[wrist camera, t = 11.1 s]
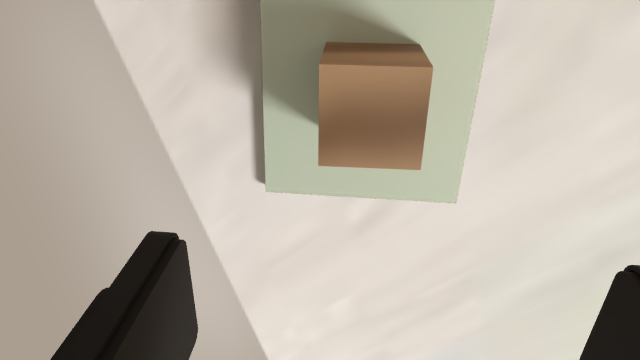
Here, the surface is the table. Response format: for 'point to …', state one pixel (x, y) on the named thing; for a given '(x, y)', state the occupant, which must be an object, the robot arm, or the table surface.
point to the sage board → (369, 27)
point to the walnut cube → (373, 105)
